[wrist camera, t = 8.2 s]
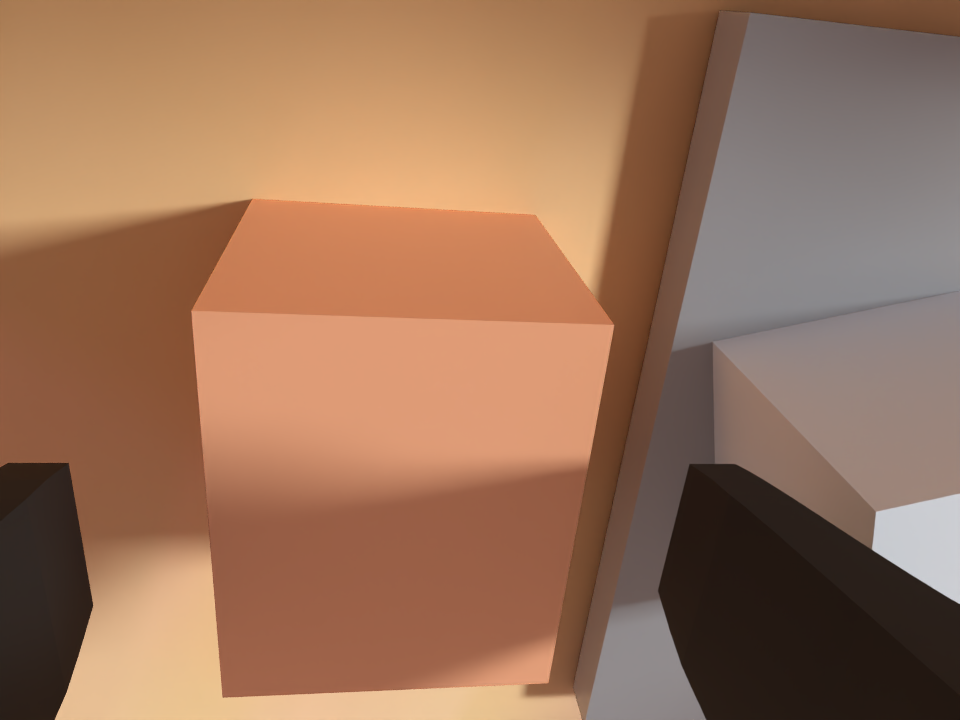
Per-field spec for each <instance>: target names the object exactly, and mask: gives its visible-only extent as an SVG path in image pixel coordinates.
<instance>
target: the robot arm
mask: <svg viewBox="0 0 960 720" xmlns="http://www.w3.org/2000/svg"><path fill="white" fill-rule="evenodd" d="M658 593H659V596H660V600H661V603H662V606H663V610H664V613H665V616H666V620H667V623H668V626H669V630H670V633H671V636H672V639H673V642H674V645H675V648H676V651H677V654H678V657H679V660H680V663H681V666H682V668H683V670H684V672H685V675H686V677H687V679H688V681H689V684H690V686H691V688H692V690H693V692H694V694H695V697H696V699H697V701H698V703H699V705H700V707H701V710H702V712H703V714H704V716H705V718H706V720H960V604H959V603H957V602H955V601H954V600H952V599H950V598H948V597H947V596H945V595H943V594H942V593H940V592H938V591H937V590H935V589H934V588H932V587H930V586H929V585H927V584H925V583H924V582H922V581H921V580H919V579H917V578H916V577H914V576H913V575H911V574H909V573H908V572H906V571H905V570H903V569H901V568H900V567H898V566H897V565H895V564H894V563H892V562H890V561H889V560H887V559H886V558H884V557H883V556H881V555H879V554H878V553H876V552H875V551H873V550H872V549H870V548H869V547H867V546H865V545H864V544H862V543H861V542H859V541H858V540H856V539H855V538H853V537H852V536H850V535H849V534H847V533H846V532H844V531H842V530H841V529H839V528H838V527H836V526H835V525H833V524H832V523H830V522H829V521H827V520H826V519H824V518H823V517H821V516H820V515H818V514H816V513H815V512H813V511H812V510H810V509H809V508H807V507H806V506H804V505H803V504H801V503H800V502H798V501H797V500H795V499H793V498H792V497H790V496H789V495H787V494H786V493H784V492H783V491H781V490H779V489H778V488H776V487H775V486H773V485H771V484H770V483H768V482H767V481H765V480H763V479H762V478H760V477H758V476H757V475H755V474H753V473H751V472H750V471H748V470H746V469H744V468H742V467H740V466H738V465H736V464H689V468H688V472H687V476H686V480H685V484H684V488H683V492H682V496H681V500H680V503H679V507H678V511H677V515H676V519H675V523H674V527H673V531H672V535H671V539H670V543H669V547H668V551H667V555H666V559H665V563H664V567H663V571H662V575H661V579H660V583H659V587H658ZM92 608H93V602H92V596H91V590H90V584H89V579H88V573H87V567H86V561H85V556H84V550H83V544H82V538H81V532H80V527H79V521H78V515H77V509H76V504H75V498H74V492H73V486H72V481H71V475H70V469H69V463H8V464H6V465H4V466H2V467H0V720H55V718H56V715H57V713H58V711H59V708H60V706H61V704H62V702H63V699H64V697H65V695H66V692H67V689H68V686H69V683H70V680H71V677H72V674H73V671H74V668H75V664H76V661H77V658H78V655H79V652H80V649H81V645H82V642H83V639H84V635H85V632H86V628H87V625H88V622H89V618H90V615H91V611H92Z"/></svg>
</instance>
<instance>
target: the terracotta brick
mask: <svg viewBox="0 0 960 720" xmlns="http://www.w3.org/2000/svg"><path fill="white" fill-rule="evenodd" d="M191 314H192V327H193V339H194V351H195V363H196V376H197V388H198V400H199V413H200V425H201V437H202V449H203V462H204V474H205V486H206V498H207V511H208V523H209V535H210V548H211V560H212V572H213V584H214V597H215V609H216V621H217V634H218V646H219V658H220V670H221V683H222V695H223V698H224V697H246V696H269V695H292V694H315V693H337V692H360V691H383V690H405V689H428V688H451V687H473V686H496V685H519V684H542V683H548V682H549V677H550V671H551V666H552V660H553V655H554V650H555V644H556V639H557V633H558V628H559V622H560V617H561V612H562V606H563V601H564V595H565V590H566V585H567V579H568V574H569V568H570V563H571V557H572V552H573V547H574V541H575V536H576V530H577V525H578V520H579V514H580V509H581V503H582V498H583V492H584V487H585V482H586V476H587V471H588V465H589V460H590V455H591V449H592V444H593V438H594V433H595V427H596V422H597V417H598V411H599V406H600V400H601V395H602V390H603V384H604V379H605V373H606V368H607V362H608V357H609V352H610V346H611V341H612V335H613V330H614V324H613V322H612V321H611V320H610V318H609V317H608V315H607V314H606V313H605V311H604V310H603V308H602V307H601V306H600V304H599V303H598V301H597V300H596V299H595V297H594V296H593V294H592V293H591V292H590V290H589V289H588V288H587V286H586V285H585V283H584V282H583V281H582V279H581V278H580V276H579V275H578V274H577V272H576V271H575V269H574V268H573V267H572V265H571V264H570V262H569V261H568V260H567V258H566V257H565V255H564V254H563V253H562V251H561V250H560V249H559V247H558V246H557V244H556V243H555V242H554V240H553V239H552V237H551V236H550V235H549V233H548V232H547V230H546V229H545V228H544V226H543V225H542V223H541V222H540V221H539V219H538V218H537V216H536V215H528V214H510V213H492V212H475V211H457V210H439V209H422V208H404V207H386V206H369V205H351V204H333V203H316V202H298V201H280V200H263V199H252V201H251V202H250V204H249V206H248V208H247V210H246V212H245V213H244V215H243V217H242V219H241V221H240V223H239V224H238V226H237V228H236V230H235V232H234V234H233V235H232V237H231V239H230V241H229V243H228V244H227V246H226V248H225V250H224V252H223V254H222V255H221V257H220V259H219V261H218V263H217V265H216V266H215V268H214V270H213V272H212V274H211V276H210V277H209V279H208V281H207V283H206V285H205V287H204V288H203V290H202V292H201V294H200V296H199V298H198V299H197V301H196V303H195V305H194V307H193V309H192V310H191Z"/></svg>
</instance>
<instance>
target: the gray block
mask: <svg viewBox="0 0 960 720" xmlns="http://www.w3.org/2000/svg"><path fill="white" fill-rule="evenodd" d="M957 291H960V37H957V36H949V35H940V34H931V33H923V32H914V31H906V30H897V29H888V28H880V27H871V26H862V25H854V24H845V23H837V22H828V21H819V20H811V19H802V18H793V17H785V16H776V15H767V14H759V13H750V12H736V11H721V10H720V11H719V16H718V20H717V25H716V29H715V34H714V39H713V43H712V48H711V53H710V57H709V62H708V66H707V71H706V76H705V80H704V85H703V89H702V94H701V99H700V103H699V108H698V113H697V117H696V122H695V126H694V131H693V136H692V140H691V145H690V149H689V154H688V159H687V163H686V168H685V173H684V177H683V182H682V186H681V191H680V196H679V200H678V205H677V209H676V214H675V219H674V223H673V228H672V233H671V237H670V242H669V246H668V251H667V256H666V260H665V265H664V269H663V274H662V279H661V283H660V288H659V293H658V297H657V302H656V306H655V311H654V316H653V320H652V325H651V329H650V334H649V339H648V343H647V348H646V352H645V357H644V362H643V366H642V371H641V376H640V380H639V385H638V389H637V394H636V399H635V403H634V408H633V412H632V417H631V422H630V426H629V431H628V436H627V440H626V445H625V449H624V454H623V459H622V463H621V468H620V472H619V477H618V482H617V486H616V491H615V496H614V500H613V505H612V509H611V514H610V519H609V523H608V528H607V532H606V537H605V542H604V546H603V551H602V556H601V560H600V565H599V569H598V574H597V579H596V583H595V588H594V592H593V597H592V602H591V606H590V611H589V616H588V620H587V625H586V629H585V634H584V639H583V643H582V648H581V652H580V657H579V662H578V666H577V671H576V676H575V680H574V685H573V689H574V693H575V696H576V699H577V703H578V706H579V710H580V713H581V717H582V720H706V718H705V716H704V714H703V712H702V710H701V707H700V705H699V703H698V701H697V699H696V697H695V694H694V692H693V690H692V688H691V686H690V684H689V681H688V679H687V677H686V675H685V672H684V670H683V668H682V666H681V663H680V660H679V657H678V654H677V651H676V648H675V645H674V642H673V639H672V636H671V633H670V630H669V626H668V623H667V620H666V616H665V613H664V610H663V606H662V603H661V600H660V596H659V593H658V587H659V583H660V579H661V575H662V571H663V567H664V563H665V559H666V555H667V551H668V547H669V543H670V539H671V535H672V531H673V527H674V523H675V519H676V515H677V511H678V507H679V503H680V500H681V496H682V492H683V488H684V484H685V480H686V476H687V472H688V468H689V464H715V446H714V393H713V342H714V341H719V340H724V339H729V338H734V337H739V336H743V335H748V334H753V333H758V332H763V331H768V330H773V329H777V328H782V327H787V326H792V325H797V324H802V323H807V322H811V321H816V320H821V319H826V318H831V317H836V316H841V315H846V314H850V313H855V312H860V311H865V310H870V309H875V308H880V307H884V306H889V305H894V304H899V303H904V302H909V301H914V300H918V299H923V298H928V297H933V296H938V295H943V294H948V293H952V292H957Z"/></svg>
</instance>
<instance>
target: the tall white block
mask: <svg viewBox="0 0 960 720" xmlns="http://www.w3.org/2000/svg"><path fill="white" fill-rule="evenodd" d="M713 393H714V446H715V464H736V465H738V466H740V467H742V468H744V469H746V470H748V471H750V472H751V473H753V474H755V475H757V476H758V477H760V478H762V479H763V480H765V481H767V482H768V483H770V484H771V485H773V486H775V487H776V488H778V489H779V490H781V491H783V492H784V493H786V494H787V495H789V496H790V497H792V498H793V499H795V500H797V501H798V502H800V503H801V504H803V505H804V506H806V507H807V508H809V509H810V510H812V511H813V512H815V513H816V514H818V515H820V516H821V517H823V518H824V519H826V520H827V521H829V522H830V523H832V524H833V525H835V526H836V527H838V528H839V529H841V530H842V531H844V532H846V533H847V534H849V535H850V536H852V537H853V538H855V539H856V540H858V541H859V542H861V543H862V544H864V545H865V546H867V547H869V548H870V549H872V550H873V551H875V552H876V553H878V554H879V555H881V556H883V557H884V558H886V559H887V560H889V561H890V562H892V563H894V564H895V565H897V566H898V567H900V568H901V569H903V570H905V571H906V572H908V573H909V574H911V575H913V576H914V577H916V578H917V579H919V580H921V581H922V582H924V583H925V584H927V585H929V586H930V587H932V588H934V589H935V590H937V591H938V592H940V593H942V594H943V595H945V596H947V597H948V598H950V599H952V600H954V601H955V602H957V603H959V604H960V291H957V292H952V293H948V294H943V295H938V296H933V297H928V298H923V299H918V300H914V301H909V302H904V303H899V304H894V305H889V306H884V307H880V308H875V309H870V310H865V311H860V312H855V313H850V314H846V315H841V316H836V317H831V318H826V319H821V320H816V321H811V322H807V323H802V324H797V325H792V326H787V327H782V328H777V329H773V330H768V331H763V332H758V333H753V334H748V335H743V336H739V337H734V338H729V339H724V340H719V341H714V342H713Z"/></svg>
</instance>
